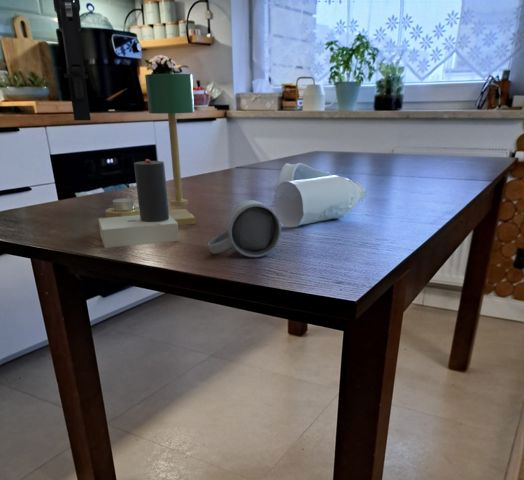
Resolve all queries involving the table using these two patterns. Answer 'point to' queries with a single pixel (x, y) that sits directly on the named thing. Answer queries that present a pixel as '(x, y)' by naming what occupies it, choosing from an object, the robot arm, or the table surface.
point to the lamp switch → (123, 205)
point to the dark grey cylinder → (151, 190)
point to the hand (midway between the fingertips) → (82, 120)
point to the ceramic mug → (249, 230)
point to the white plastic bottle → (316, 199)
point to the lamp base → (183, 220)
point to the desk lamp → (171, 113)
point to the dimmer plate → (136, 231)
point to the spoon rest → (298, 173)
